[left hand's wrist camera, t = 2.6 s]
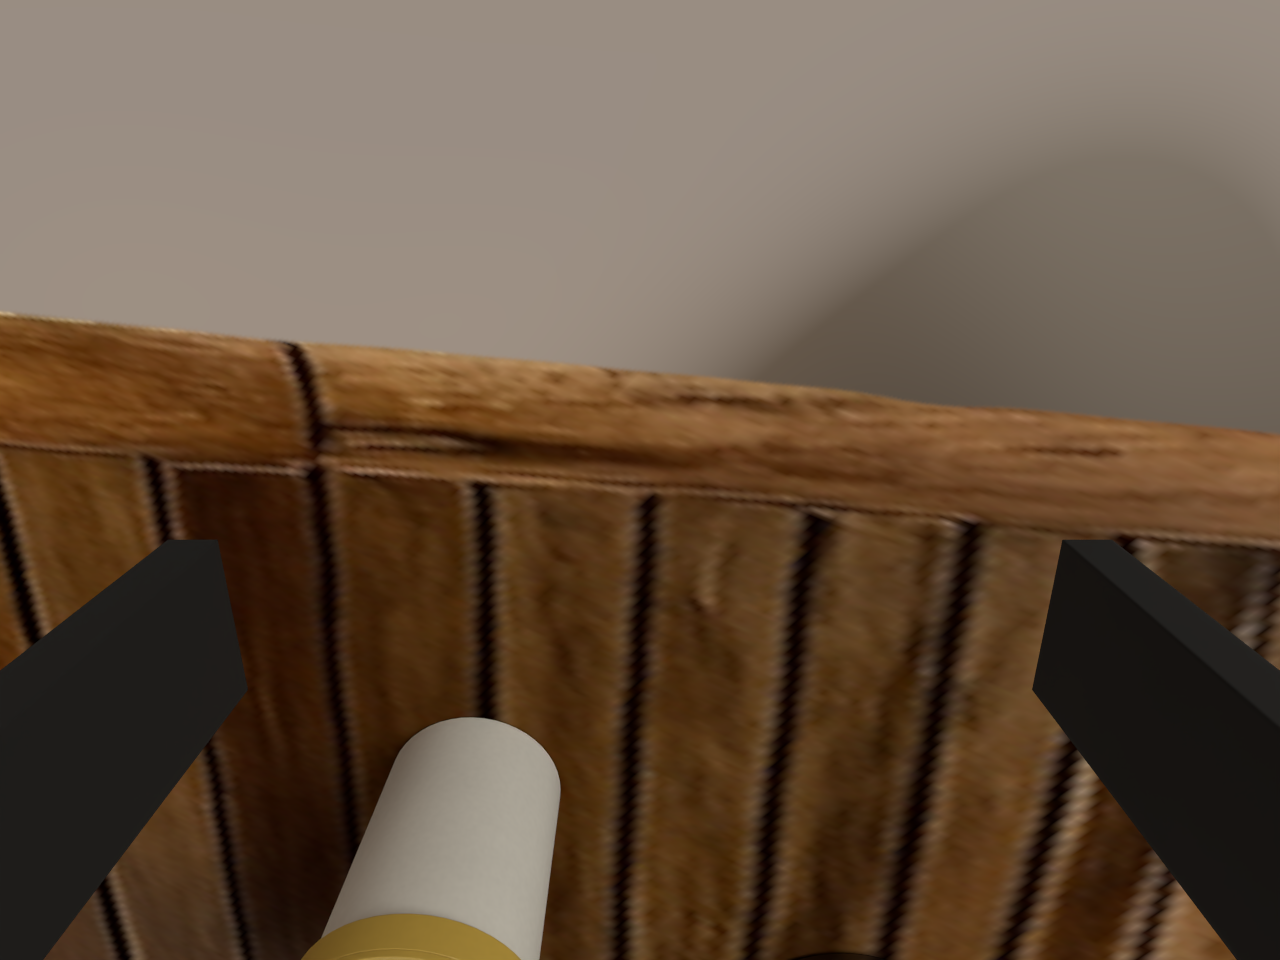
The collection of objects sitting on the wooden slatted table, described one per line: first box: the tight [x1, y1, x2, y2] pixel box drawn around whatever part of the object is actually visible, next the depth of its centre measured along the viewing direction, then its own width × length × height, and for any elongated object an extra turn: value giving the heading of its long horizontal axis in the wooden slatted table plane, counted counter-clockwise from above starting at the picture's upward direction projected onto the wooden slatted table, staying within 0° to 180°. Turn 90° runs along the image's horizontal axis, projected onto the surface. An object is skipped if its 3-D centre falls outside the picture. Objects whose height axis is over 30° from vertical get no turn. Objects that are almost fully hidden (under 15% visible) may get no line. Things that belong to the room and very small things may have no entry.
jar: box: [321, 717, 560, 960], centre depth 42 cm, size 10×10×15 cm
